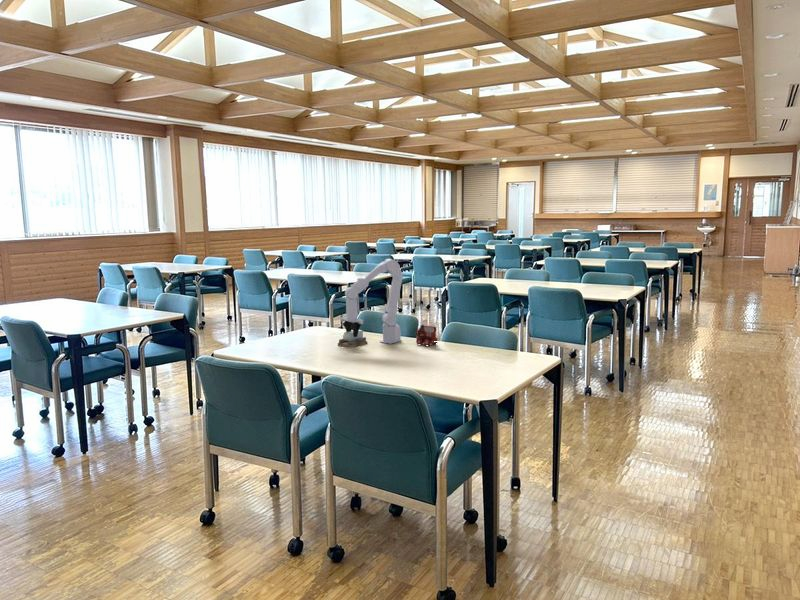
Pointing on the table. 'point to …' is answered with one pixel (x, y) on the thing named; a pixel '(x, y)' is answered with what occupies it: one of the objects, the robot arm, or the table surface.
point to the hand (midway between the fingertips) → (352, 336)
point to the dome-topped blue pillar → (349, 335)
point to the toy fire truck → (426, 335)
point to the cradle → (352, 342)
